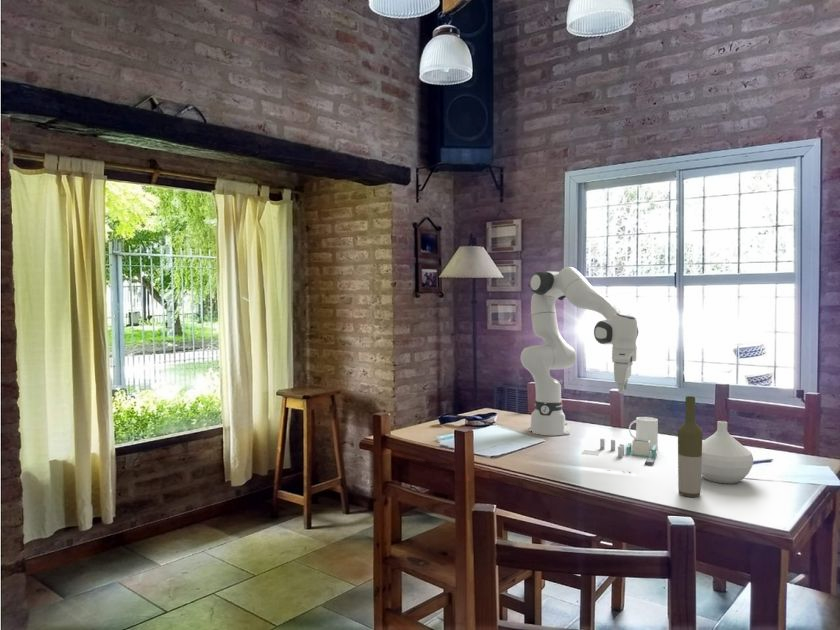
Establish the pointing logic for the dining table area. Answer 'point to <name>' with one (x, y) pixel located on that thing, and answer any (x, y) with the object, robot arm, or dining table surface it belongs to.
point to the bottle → (689, 453)
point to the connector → (641, 446)
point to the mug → (646, 430)
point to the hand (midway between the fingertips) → (622, 391)
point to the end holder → (629, 452)
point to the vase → (724, 457)
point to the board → (620, 451)
